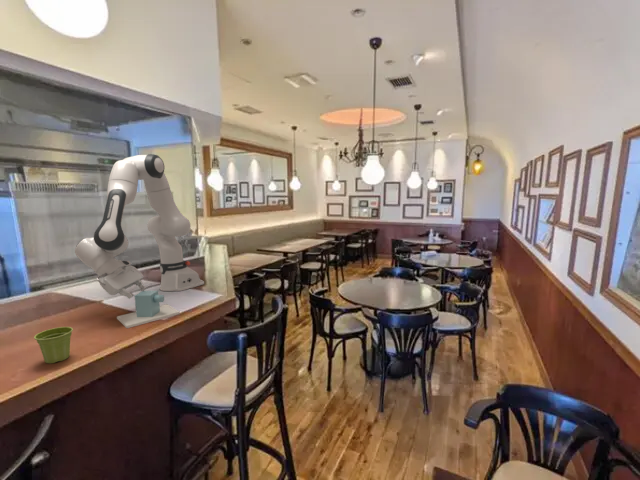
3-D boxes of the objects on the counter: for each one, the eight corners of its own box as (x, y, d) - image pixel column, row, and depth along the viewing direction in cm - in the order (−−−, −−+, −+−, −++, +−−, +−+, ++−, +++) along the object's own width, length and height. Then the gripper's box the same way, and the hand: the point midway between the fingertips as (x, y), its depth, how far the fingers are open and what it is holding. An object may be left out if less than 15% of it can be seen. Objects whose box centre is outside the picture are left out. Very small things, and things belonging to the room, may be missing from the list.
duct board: (167, 306, 150) (165, 292, 149) (179, 313, 140) (178, 298, 139) (116, 318, 136) (115, 303, 135) (126, 328, 126) (124, 311, 125)
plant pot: (55, 351, 109) (51, 326, 108) (83, 351, 109) (80, 326, 107) (29, 366, 100) (25, 339, 98) (60, 366, 99) (56, 339, 98)
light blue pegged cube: (145, 311, 141) (142, 290, 140) (167, 310, 141) (165, 290, 140) (136, 317, 135) (134, 295, 134) (160, 316, 135) (158, 295, 134)
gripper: (99, 271, 125) (128, 296, 126) (130, 260, 145) (155, 281, 147) (89, 283, 126) (118, 307, 127) (121, 270, 146) (146, 291, 147)
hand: (138, 293), depth 137 cm, fingers open, 8 cm apart
